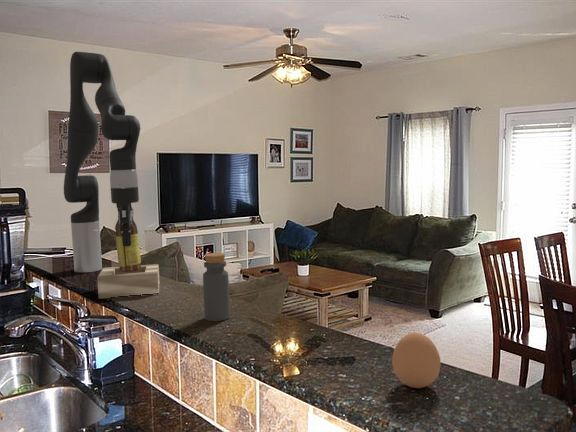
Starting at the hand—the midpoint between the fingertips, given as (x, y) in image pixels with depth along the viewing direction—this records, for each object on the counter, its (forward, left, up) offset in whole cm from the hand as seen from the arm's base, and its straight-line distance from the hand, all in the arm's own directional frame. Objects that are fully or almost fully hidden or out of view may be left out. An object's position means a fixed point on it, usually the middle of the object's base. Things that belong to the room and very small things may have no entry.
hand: (127, 244), depth 155 cm
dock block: (0, 0, -14) cm, 14 cm away
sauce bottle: (0, 0, -8) cm, 8 cm away
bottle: (+36, +22, -14) cm, 44 cm away
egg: (+84, +49, -14) cm, 98 cm away
